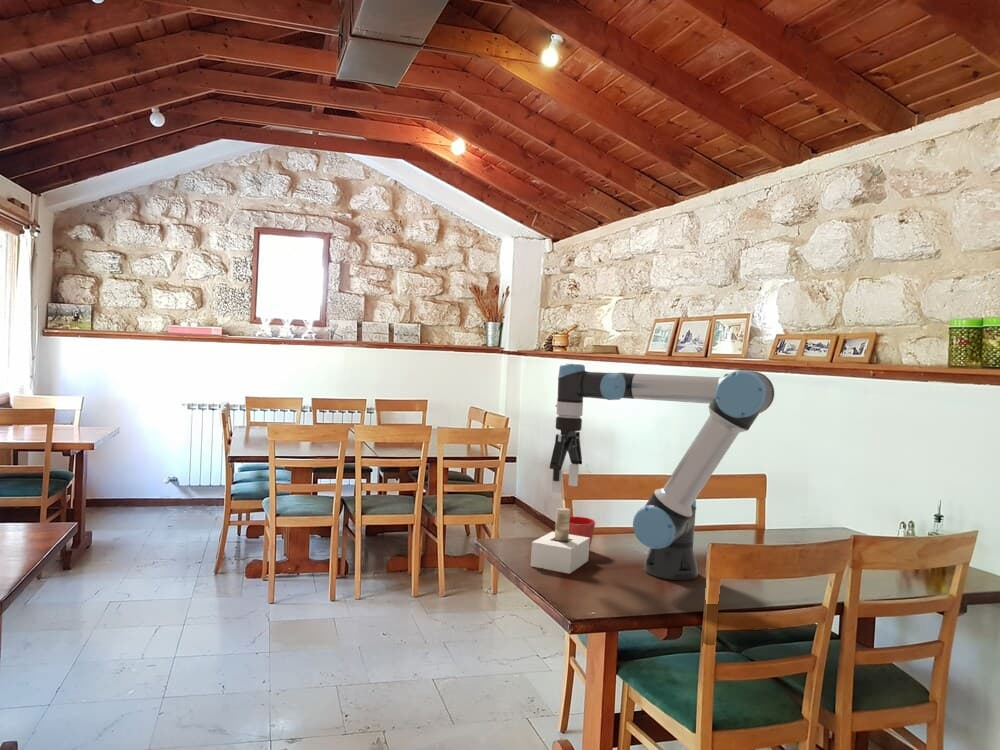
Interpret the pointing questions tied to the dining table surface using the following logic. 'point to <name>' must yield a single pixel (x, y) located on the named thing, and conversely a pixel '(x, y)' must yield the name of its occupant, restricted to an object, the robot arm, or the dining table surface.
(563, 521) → the beech peg
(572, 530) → the flower pot
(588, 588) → the dining table surface
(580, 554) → the socket block
